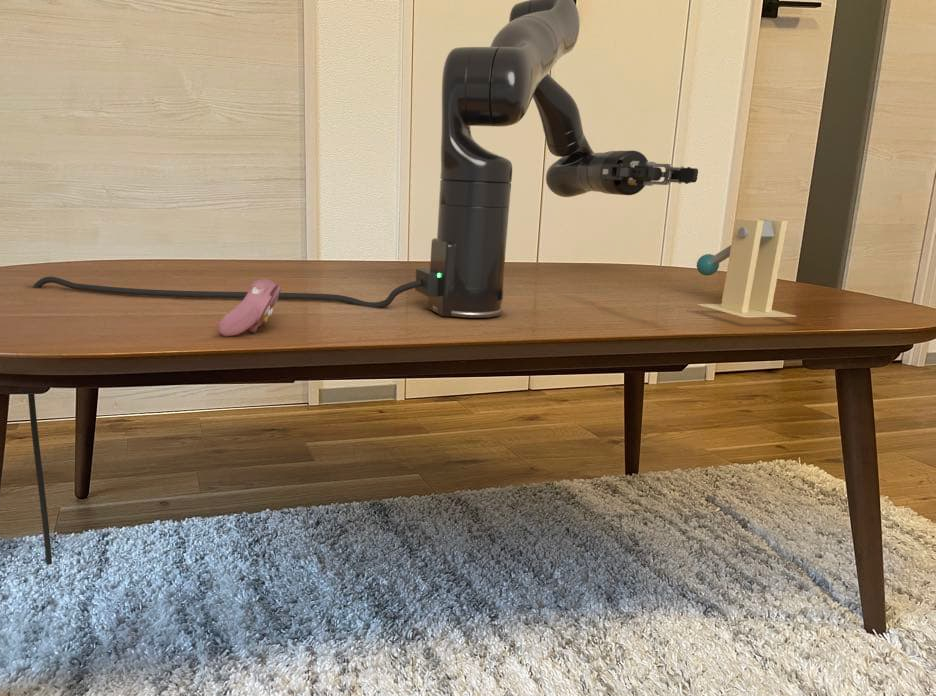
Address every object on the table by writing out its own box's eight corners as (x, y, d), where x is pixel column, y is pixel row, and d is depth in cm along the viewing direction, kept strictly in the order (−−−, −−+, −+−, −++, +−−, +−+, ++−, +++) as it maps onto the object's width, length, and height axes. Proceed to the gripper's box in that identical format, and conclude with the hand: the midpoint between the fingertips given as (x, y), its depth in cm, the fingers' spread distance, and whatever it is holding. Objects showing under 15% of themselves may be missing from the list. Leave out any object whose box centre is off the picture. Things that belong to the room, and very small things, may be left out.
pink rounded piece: (250, 352, 86) (278, 297, 84) (213, 332, 85) (240, 276, 83) (266, 333, 95) (291, 283, 93) (232, 315, 94) (257, 265, 93)
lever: (694, 278, 119) (690, 259, 119) (711, 278, 119) (707, 259, 120) (759, 238, 105) (754, 217, 106) (778, 239, 106) (773, 217, 107)
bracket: (695, 312, 114) (710, 216, 110) (745, 311, 117) (762, 217, 113) (742, 325, 105) (760, 221, 101) (795, 324, 108) (815, 223, 104)
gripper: (584, 148, 136) (638, 147, 121) (654, 152, 140) (714, 152, 125) (580, 192, 138) (631, 196, 124) (648, 195, 142) (706, 199, 128)
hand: (673, 174), depth 125 cm, fingers open, 8 cm apart
